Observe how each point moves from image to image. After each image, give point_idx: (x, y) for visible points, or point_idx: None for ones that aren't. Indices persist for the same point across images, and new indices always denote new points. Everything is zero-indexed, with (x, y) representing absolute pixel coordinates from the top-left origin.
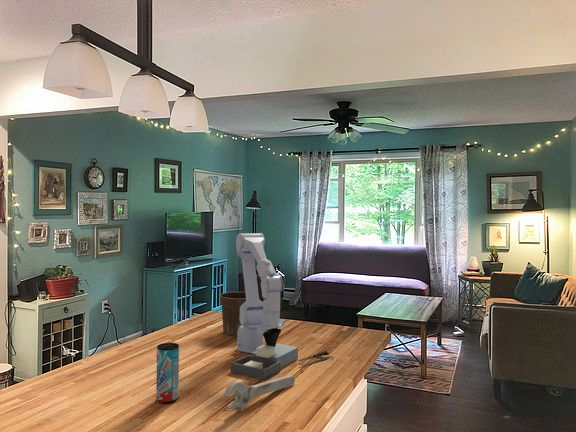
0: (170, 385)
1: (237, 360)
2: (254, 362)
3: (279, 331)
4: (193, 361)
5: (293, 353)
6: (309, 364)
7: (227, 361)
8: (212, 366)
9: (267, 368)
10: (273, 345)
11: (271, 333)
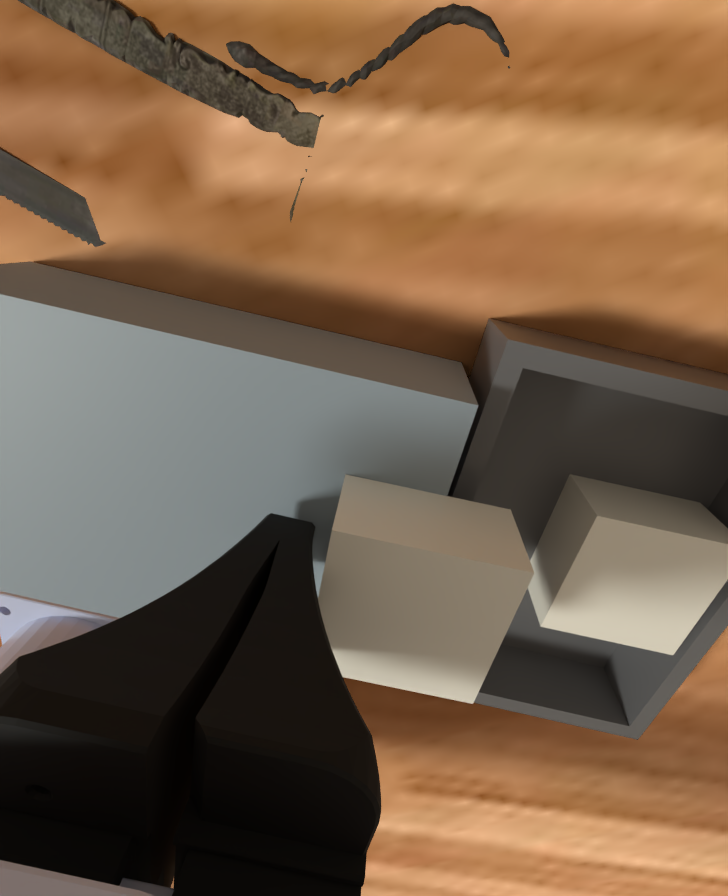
0: None
1: (563, 713)
2: (592, 588)
3: (105, 705)
4: (461, 854)
5: (73, 294)
6: (135, 18)
7: (393, 731)
8: (518, 772)
9: None
10: (304, 561)
11: (375, 809)
